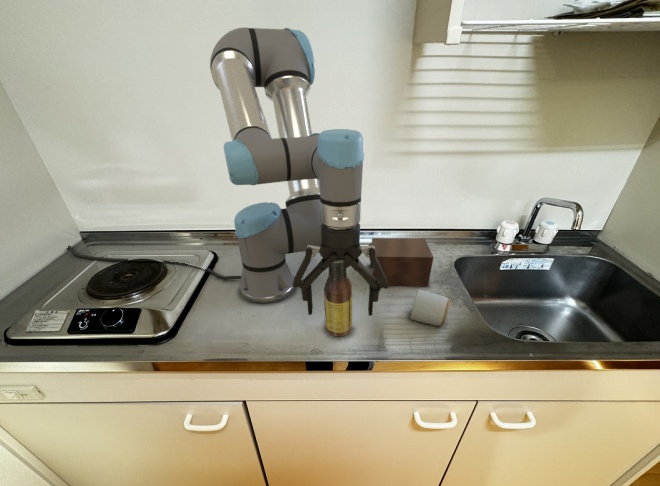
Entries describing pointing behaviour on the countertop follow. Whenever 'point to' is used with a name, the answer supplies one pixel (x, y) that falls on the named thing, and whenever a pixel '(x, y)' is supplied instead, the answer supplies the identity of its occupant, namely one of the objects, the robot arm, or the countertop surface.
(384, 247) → the wooden brown block
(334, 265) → the sauce bottle
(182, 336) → the countertop surface
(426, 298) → the white cylinder
